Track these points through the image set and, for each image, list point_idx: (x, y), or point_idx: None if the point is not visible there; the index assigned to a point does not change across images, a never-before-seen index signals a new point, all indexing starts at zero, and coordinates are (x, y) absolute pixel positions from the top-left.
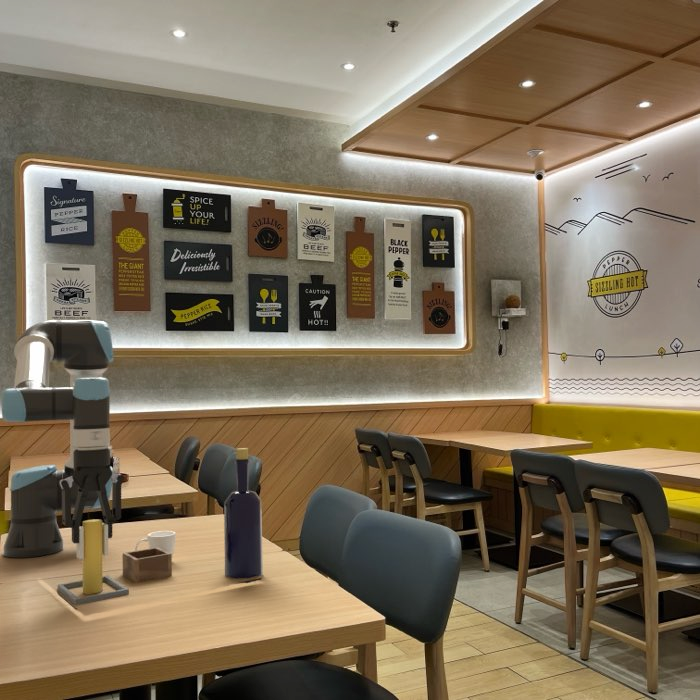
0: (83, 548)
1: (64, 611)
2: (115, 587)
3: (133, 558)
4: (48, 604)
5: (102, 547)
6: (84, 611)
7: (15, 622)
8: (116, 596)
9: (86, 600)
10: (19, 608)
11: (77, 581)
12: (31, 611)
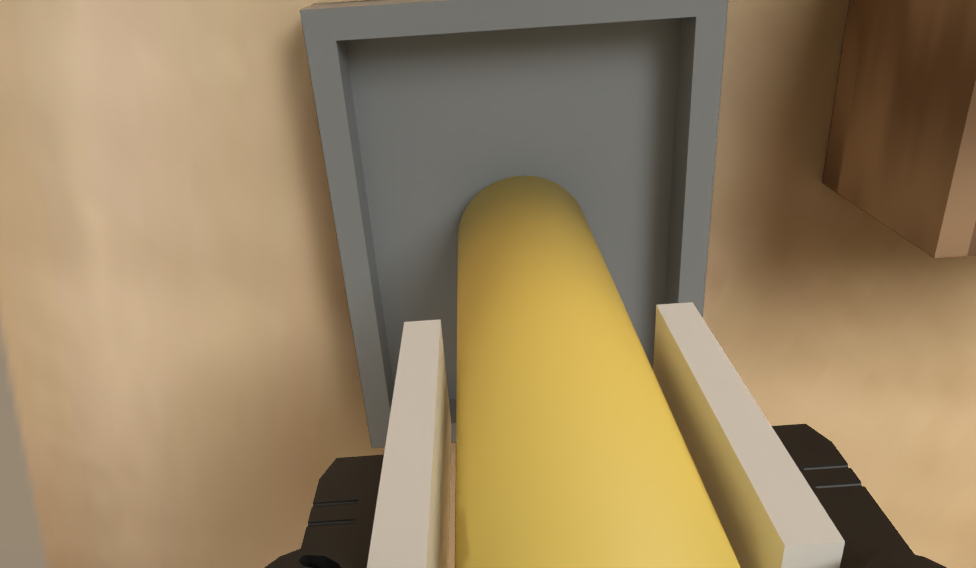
0: (448, 492)
1: (320, 407)
2: (672, 250)
3: (954, 195)
4: (241, 228)
5: (672, 388)
6: None
7: (71, 438)
8: None
9: None
10: (62, 203)
11: (463, 13)
12: (142, 307)
